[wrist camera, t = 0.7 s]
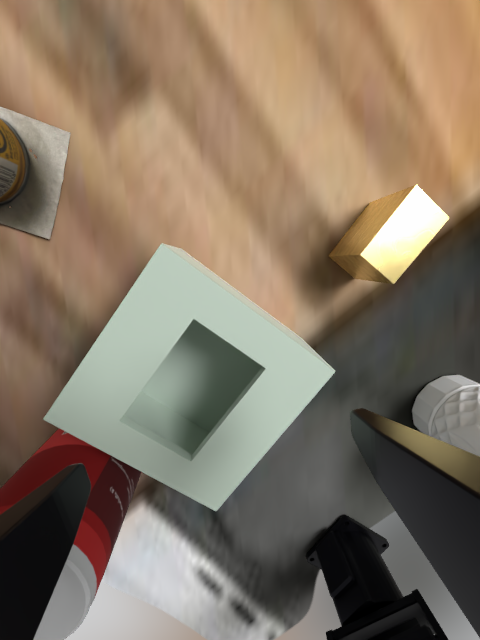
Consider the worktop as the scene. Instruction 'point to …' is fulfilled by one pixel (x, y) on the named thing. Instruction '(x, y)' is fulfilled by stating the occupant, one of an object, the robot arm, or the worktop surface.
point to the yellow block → (389, 236)
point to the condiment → (30, 172)
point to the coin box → (189, 380)
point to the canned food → (94, 530)
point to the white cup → (450, 412)
